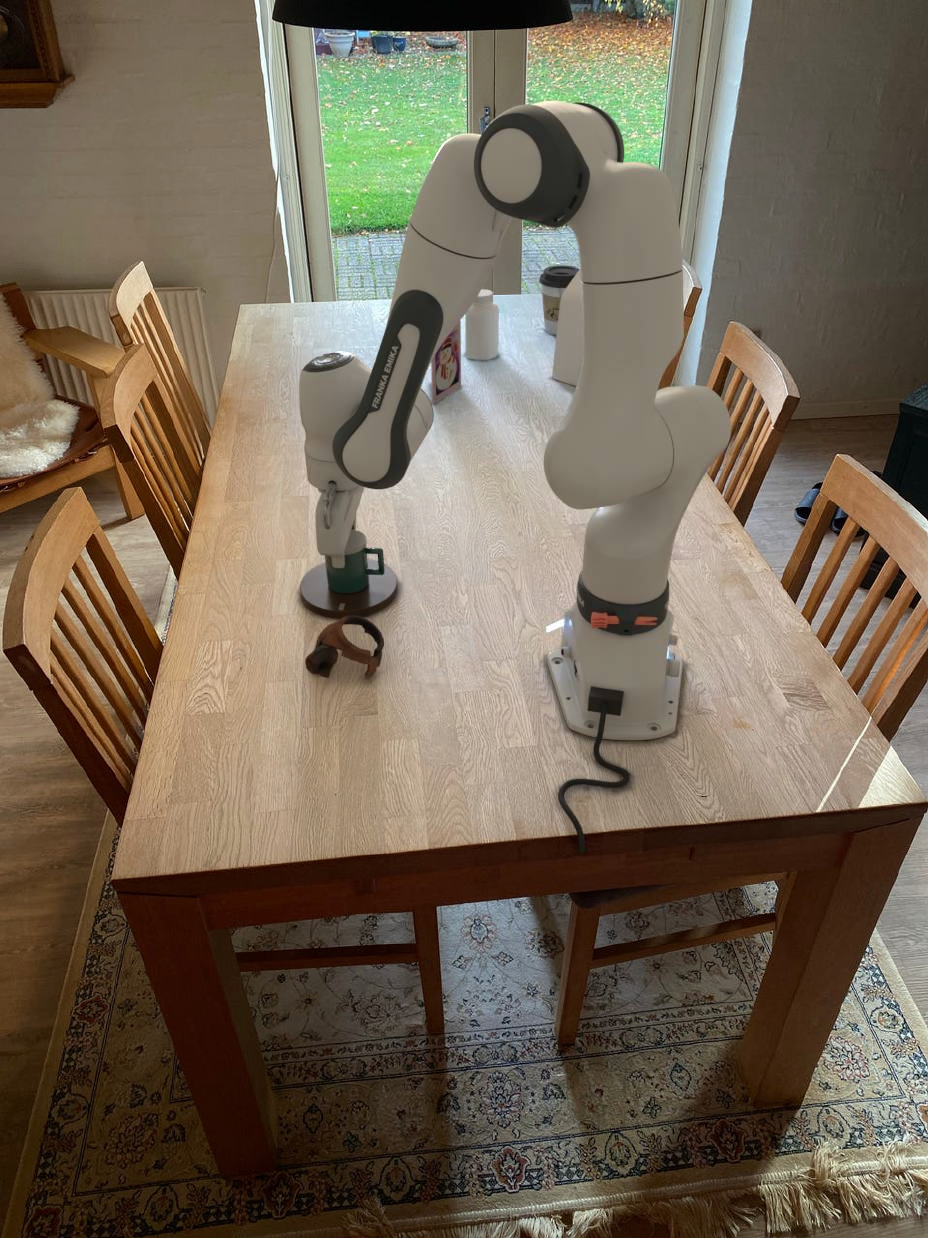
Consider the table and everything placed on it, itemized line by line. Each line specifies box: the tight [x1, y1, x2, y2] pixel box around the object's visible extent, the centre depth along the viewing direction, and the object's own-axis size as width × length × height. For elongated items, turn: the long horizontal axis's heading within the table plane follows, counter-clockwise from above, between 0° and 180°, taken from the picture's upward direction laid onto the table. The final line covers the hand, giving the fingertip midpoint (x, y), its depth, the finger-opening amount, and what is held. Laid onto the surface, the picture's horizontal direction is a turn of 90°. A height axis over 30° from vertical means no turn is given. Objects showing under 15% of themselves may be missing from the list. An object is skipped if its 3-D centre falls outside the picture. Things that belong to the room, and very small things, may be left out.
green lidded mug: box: [324, 529, 385, 594], centre depth 143 cm, size 7×9×8 cm
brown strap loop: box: [304, 615, 385, 679], centre depth 129 cm, size 12×10×8 cm
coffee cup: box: [538, 264, 580, 336], centre depth 235 cm, size 11×11×15 cm
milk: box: [551, 268, 584, 387], centre depth 207 cm, size 12×12×26 cm
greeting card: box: [430, 319, 462, 405], centre depth 204 cm, size 11×7×15 cm, turn 148°
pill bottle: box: [464, 288, 500, 361], centre depth 222 cm, size 8×8×15 cm
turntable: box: [299, 557, 398, 620], centre depth 145 cm, size 15×15×2 cm
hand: (344, 548), depth 142 cm, fingers open, 8 cm apart
